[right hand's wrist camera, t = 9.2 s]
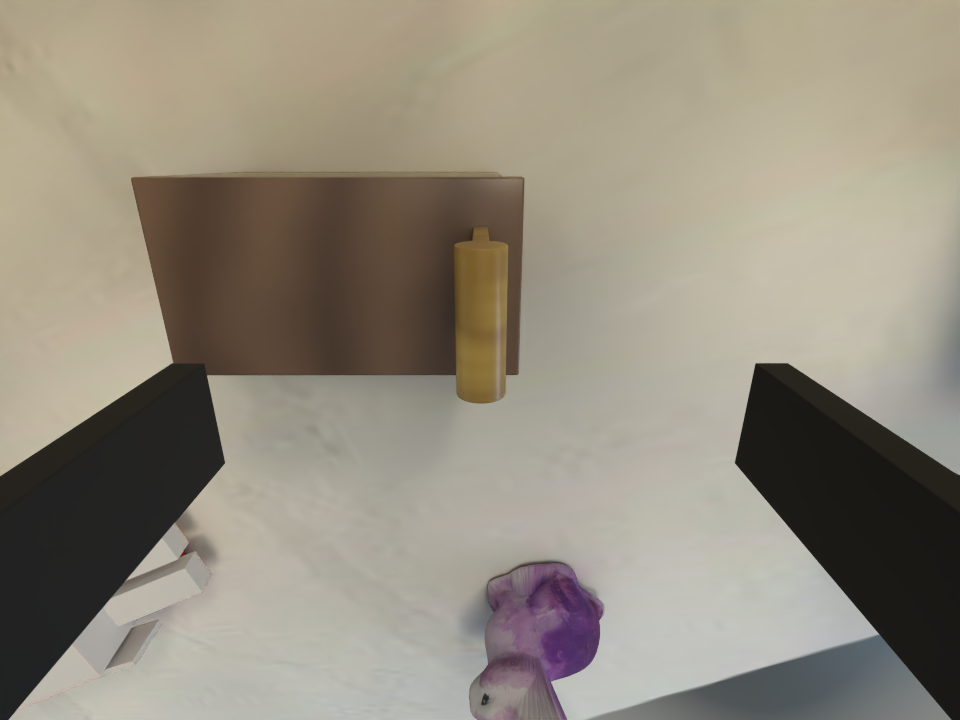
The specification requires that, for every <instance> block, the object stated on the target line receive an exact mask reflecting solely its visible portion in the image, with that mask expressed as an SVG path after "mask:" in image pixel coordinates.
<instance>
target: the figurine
mask: <svg viewBox="0 0 960 720" xmlns="http://www.w3.org/2000/svg"><path fill="white" fill-rule="evenodd" d="M488 600H489V604H490V607H491V608H492V611H493V612H494V613H493V615H492V616H491V618H490V619H489V621H488V623H487V625H486V630H485V646H486V652H487V658H488V666H487V667H486V668H485V670H484V671H483V672H482V673H481V674H480V675H479V676H478V677H477V678H476V679H475V680H474V681H473V682H472V684H471V686H470V690H469V701H470V711H471V713H472V715H473V716H474V717H475V718H476V719H477V720H567V718H566V716H565V714H564V711H563V709H562V707H561V705H560V702H559V700H558V698H557V695H556V693H555V691H554V689H553V686H552V684H551V681H553V680H557V679H561V678H564V677H567V676H570V675H573V674H575V673H577V672H579V671H581V670H583V669H584V668H586V667H587V666H588V665H589V664H590V663H591V662H592V660H593V658H594V657H595V654H596V652H597V648H598V645H599V639H600V624H599V620H600V619H601V617H602V616H603V615H604V612H605V607H604V604H603V603H602V601H601V600H600V599H598V598H597V597H596V596H594V595H592V594H591V593H589V592H587V591H585V590H584V589H582V588H581V587H580V586H579V585H578V583H577V578H576V575H575V573H574V571H573V570H572V569H571V568H570V567H568V566H566V565H563V564H561V563H556V562H555V563H545V564H532V565H527V566H523V567H522V566H520V567H519V568H518V569H516V570H514V571H512V572H510V573H509V574H507V575H504V576H501V577H497V578H495V579H493V580H491V581H490V582H489V584H488Z"/></svg>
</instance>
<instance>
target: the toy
mask: <svg viewBox="0 0 960 720" xmlns="http://www.w3.org/2000/svg"><path fill="white" fill-rule="evenodd" d="M188 543H189V542H188V540H187V539H186V538H185V536H184V535H183V533H182V532H181V531H180V529H179V528H178V526H177V525H176V524H175V523H174V524H173V525H172V527H171V528H170V529H169V530H168V531H167V532H166V534H165V535H164V536H163V537H162V538H161V540H160V541H159V542H158V543H157V544H156V545H155V547H154V548H153V549H152V550H151V551H150V553H149V554H148V555H147V556H146V557H145V558H144V560H143V561H142V562H141V563H140V564H139V566H138V567H137V568H136V569H135V570H134V572H133V573H132V574H131V575H130V576H129V577H128V579H127V580H126V581H125V582H124V583H123V585H122V586H121V587H120V588H119V589H118V590H117V592H116V593H115V594H114V595H113V596H112V598H111V599H110V600H109V601H108V602H107V604H106V605H105V606H104V607H103V608H102V609H101V611H100V612H99V613H98V614H97V615H96V617H95V618H94V619H93V620H92V621H91V622H90V624H89V625H88V626H87V627H86V628H85V630H84V631H83V632H82V633H81V634H80V635H79V637H78V638H77V639H76V640H75V641H74V643H73V644H72V645H71V646H70V647H69V649H68V650H67V651H66V652H65V653H64V654H63V656H62V657H61V658H60V659H59V660H58V662H57V663H56V664H55V665H54V666H53V667H52V669H51V670H50V671H49V672H48V673H47V675H46V676H45V677H44V678H43V679H42V680H41V682H40V683H39V684H38V685H37V686H36V688H35V689H34V690H33V691H32V692H31V694H30V695H29V696H28V697H27V698H26V699H25V701H24V702H23V703H22V704H21V705H20V707H19V708H18V709H17V710H19V709H21V708H24V707H26V706H29V705H31V704H34V703H36V702H39V701H41V700H43V699H46V698H48V697H51V696H53V695H56V694H58V693H61V692H63V691H65V690H68V689H70V688H73V687H75V686H78V685H80V684H83V683H85V682H87V681H90V680H92V679H95V678H98V677H102V676H105V675H108V674H111V673H114V672H118V671H121V670H124V669H127V668H130V667H133V666H136V664H137V663H138V661H139V659H140V658H141V656H142V655H143V653H144V651H145V650H146V648H147V647H148V645H149V644H150V642H151V640H152V639H153V637H154V636H155V634H156V632H157V631H158V629H159V628H160V626H161V622H160V621H159V620H156V621H152V622H149V623H146V624H143V625H140V626H137V627H133V628H132V626H133V625H134V623H135V622H136V620H137V619H138V618H141V617H143V616H146V615H148V614H151V613H153V612H155V611H158V610H160V609H163V608H165V607H168V606H170V605H173V604H175V603H177V602H180V601H182V600H185V599H187V598H190V597H192V596H195V595H197V594H199V593H202V592H203V590H204V588H205V586H206V584H207V583H208V581H209V579H210V577H211V575H212V574H211V572H210V571H209V570H208V568H207V567H206V565H205V564H204V563H203V561H202V560H201V558H200V557H199V556H198V554H197V553H196V551H194V552H191V553H189V554H185V553H184V552H183V551H184V549H185V548H186V546H187V545H188ZM17 710H16V711H17Z"/></svg>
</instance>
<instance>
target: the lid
mask: <svg viewBox="0 0 960 720" xmlns="http://www.w3.org/2000/svg"><path fill="white" fill-rule="evenodd" d="M131 181H132V185H133V190H134V194H135V198H136V203H137V207H138V211H139V216H140V220H141V224H142V229H143V233H144V237H145V242H146V246H147V250H148V255H149V259H150V263H151V268H152V272H153V276H154V281H155V285H156V289H157V294H158V298H159V302H160V307H161V311H162V315H163V320H164V324H165V328H166V333H167V337H168V341H169V345H170V350H171V354H172V358H173V363H204V364H205V369H206V374H207V375H456V390H457V395H458V397H459V398H460V399H462V400H464V401H467V402H471V403H491V402H495V401H498V400H500V399H501V398H503V397H504V395H505V386H506V375H518V374H519V344H520V310H521V276H522V242H523V207H524V178H523V177H133V178H131Z"/></svg>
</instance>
